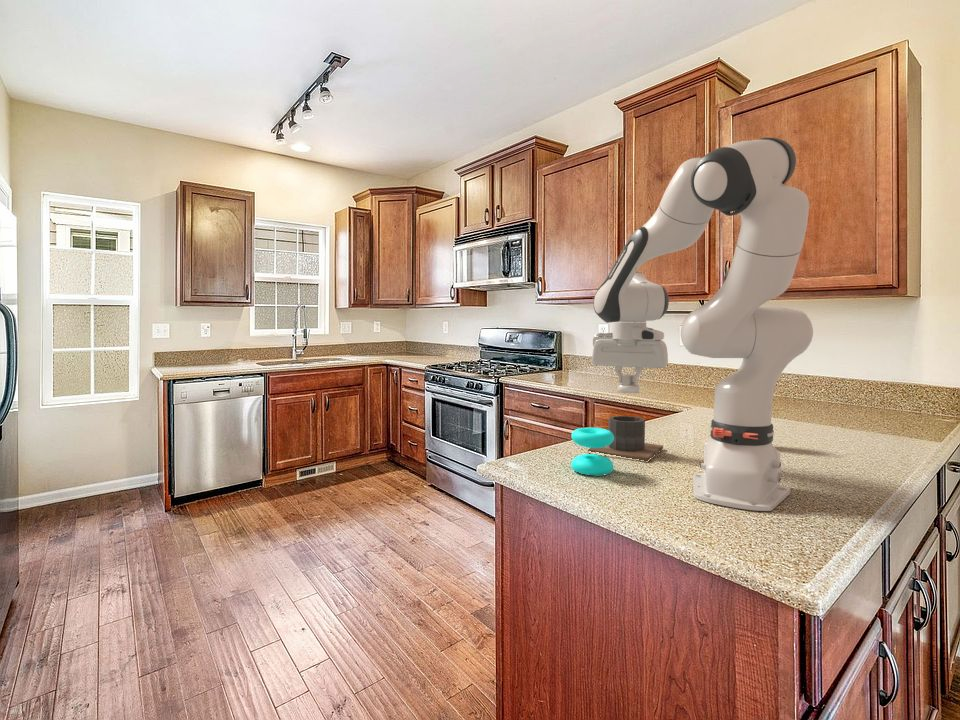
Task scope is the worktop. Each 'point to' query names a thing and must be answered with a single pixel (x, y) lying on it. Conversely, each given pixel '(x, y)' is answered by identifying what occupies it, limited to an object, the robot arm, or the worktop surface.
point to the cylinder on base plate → (629, 439)
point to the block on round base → (628, 385)
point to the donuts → (592, 462)
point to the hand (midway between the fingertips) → (628, 383)
